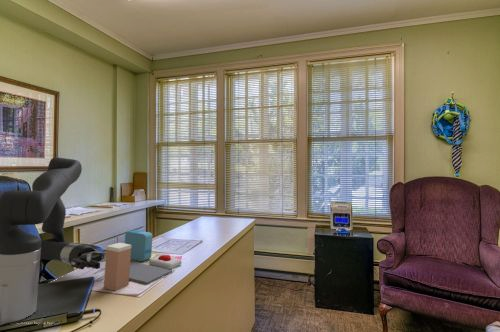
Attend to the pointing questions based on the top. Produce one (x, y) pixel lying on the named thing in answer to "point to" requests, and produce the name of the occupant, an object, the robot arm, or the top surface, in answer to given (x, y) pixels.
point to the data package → (139, 244)
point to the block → (117, 266)
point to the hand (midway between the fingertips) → (109, 262)
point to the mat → (146, 273)
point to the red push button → (165, 262)
